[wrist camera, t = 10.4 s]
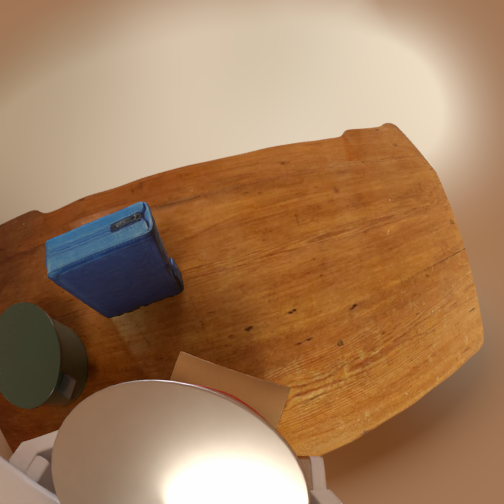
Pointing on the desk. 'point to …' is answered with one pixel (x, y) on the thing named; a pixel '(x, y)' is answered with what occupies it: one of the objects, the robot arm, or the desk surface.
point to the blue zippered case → (114, 262)
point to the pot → (39, 359)
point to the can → (172, 449)
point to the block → (234, 385)
